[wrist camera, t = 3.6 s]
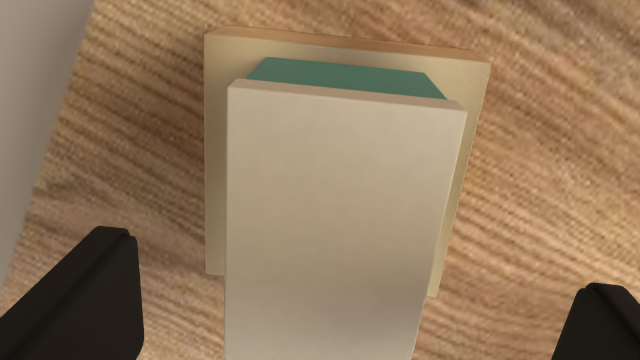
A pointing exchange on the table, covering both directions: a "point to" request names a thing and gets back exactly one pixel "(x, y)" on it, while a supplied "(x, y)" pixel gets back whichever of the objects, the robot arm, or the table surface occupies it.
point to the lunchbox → (333, 208)
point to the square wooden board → (256, 44)
